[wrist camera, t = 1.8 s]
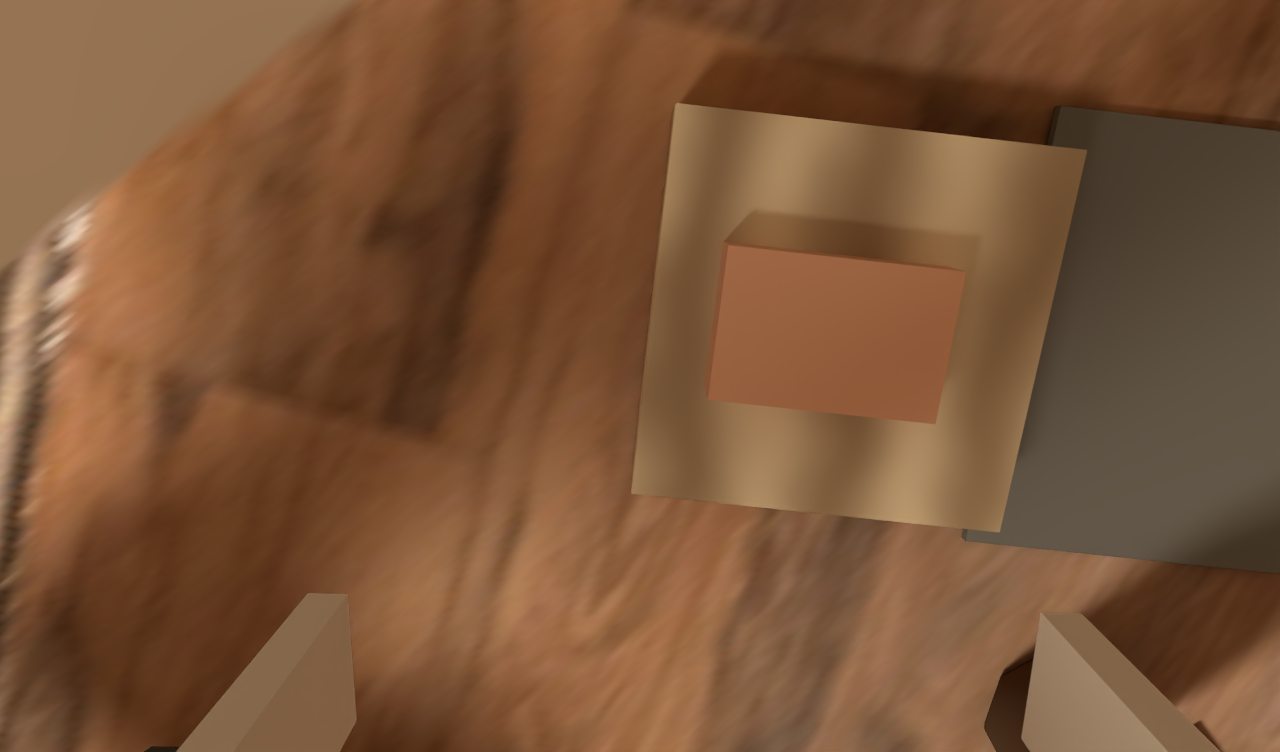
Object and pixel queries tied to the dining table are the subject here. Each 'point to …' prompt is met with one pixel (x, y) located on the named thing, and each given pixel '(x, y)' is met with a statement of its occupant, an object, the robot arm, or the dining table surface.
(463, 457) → the dining table surface
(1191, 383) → the rubber mat
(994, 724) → the beer bottle
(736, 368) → the terracotta tile
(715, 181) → the birch serving board
